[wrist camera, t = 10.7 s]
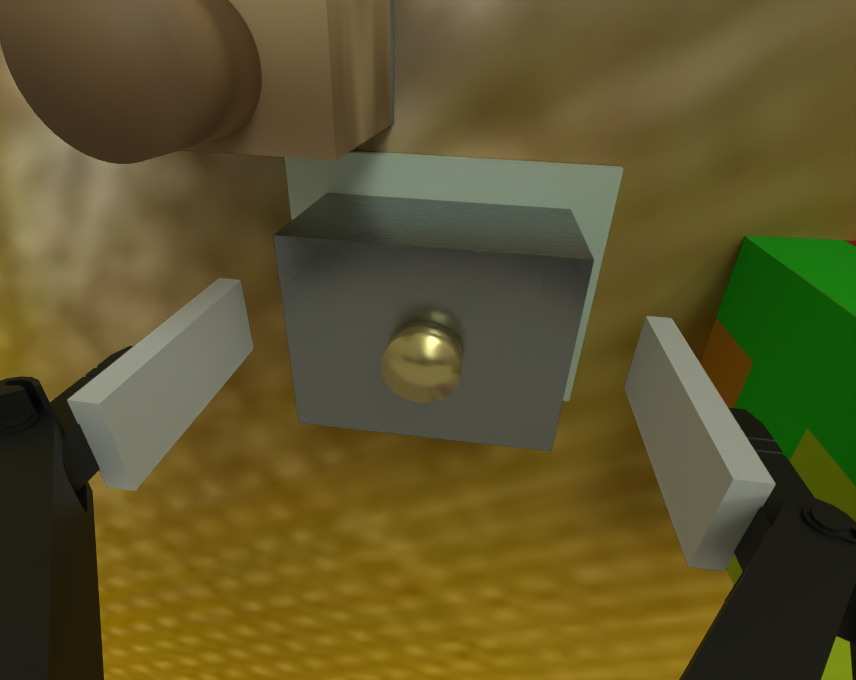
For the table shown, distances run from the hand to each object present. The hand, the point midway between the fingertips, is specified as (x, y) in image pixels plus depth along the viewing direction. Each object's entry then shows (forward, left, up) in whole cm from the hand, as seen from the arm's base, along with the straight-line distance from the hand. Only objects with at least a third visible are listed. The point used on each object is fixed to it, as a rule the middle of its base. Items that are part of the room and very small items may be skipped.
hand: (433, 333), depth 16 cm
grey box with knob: (0, 0, -4) cm, 4 cm away
